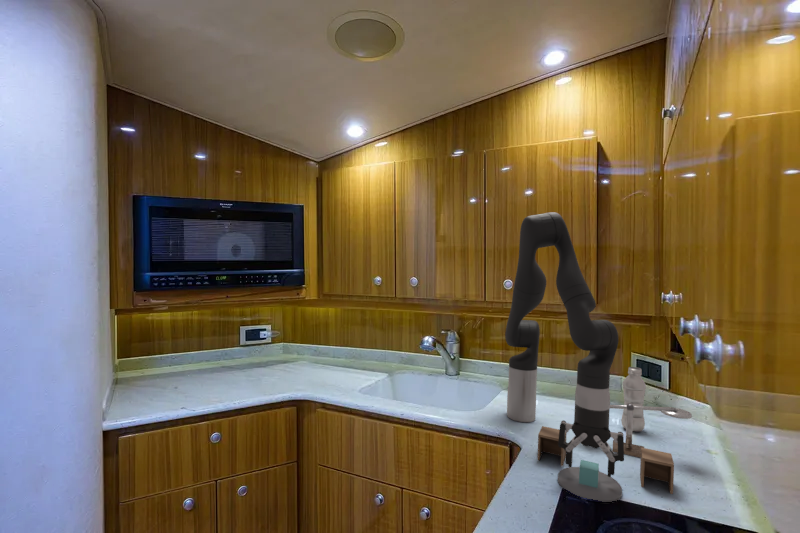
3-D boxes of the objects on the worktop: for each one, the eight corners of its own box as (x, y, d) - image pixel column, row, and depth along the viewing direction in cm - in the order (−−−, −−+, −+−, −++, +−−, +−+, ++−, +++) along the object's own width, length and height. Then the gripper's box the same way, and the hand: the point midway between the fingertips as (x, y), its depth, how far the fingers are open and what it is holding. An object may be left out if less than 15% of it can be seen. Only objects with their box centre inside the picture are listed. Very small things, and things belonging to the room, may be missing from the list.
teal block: (580, 475, 102) (580, 459, 102) (598, 480, 100) (598, 463, 100) (578, 483, 99) (579, 466, 99) (597, 488, 97) (598, 471, 97)
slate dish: (546, 473, 105) (546, 469, 105) (594, 468, 108) (595, 464, 108) (581, 506, 91) (581, 501, 91) (636, 499, 94) (636, 495, 94)
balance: (572, 443, 122) (574, 394, 122) (575, 435, 128) (576, 388, 128) (691, 469, 109) (693, 414, 108) (687, 458, 115) (689, 406, 115)
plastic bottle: (649, 433, 131) (652, 370, 130) (630, 434, 130) (632, 371, 129) (634, 425, 137) (637, 365, 137) (616, 426, 136) (618, 365, 136)
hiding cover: (541, 450, 117) (542, 426, 117) (565, 456, 114) (566, 431, 114) (537, 460, 112) (538, 434, 111) (562, 466, 109) (563, 439, 108)
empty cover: (640, 474, 105) (641, 447, 105) (669, 481, 102) (671, 453, 102) (641, 486, 100) (642, 457, 100) (672, 494, 97) (674, 464, 97)
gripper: (558, 402, 99) (555, 469, 99) (626, 414, 92) (623, 486, 93) (562, 393, 106) (559, 456, 106) (625, 404, 99) (623, 471, 99)
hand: (589, 470), depth 99 cm, fingers open, 8 cm apart
